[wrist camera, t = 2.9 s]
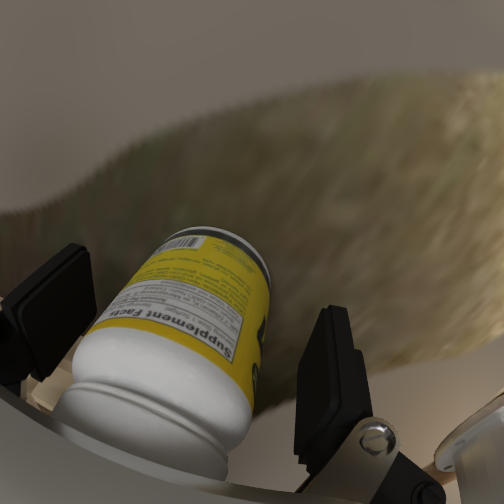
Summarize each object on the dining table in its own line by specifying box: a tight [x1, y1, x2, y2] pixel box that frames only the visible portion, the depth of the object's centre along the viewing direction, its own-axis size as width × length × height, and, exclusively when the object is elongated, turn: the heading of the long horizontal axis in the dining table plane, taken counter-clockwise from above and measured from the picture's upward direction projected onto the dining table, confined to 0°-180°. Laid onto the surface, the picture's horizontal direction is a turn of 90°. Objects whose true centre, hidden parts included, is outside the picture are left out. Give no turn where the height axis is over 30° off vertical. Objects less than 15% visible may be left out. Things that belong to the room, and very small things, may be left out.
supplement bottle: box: [50, 226, 271, 481], centre depth 8 cm, size 5×5×8 cm
